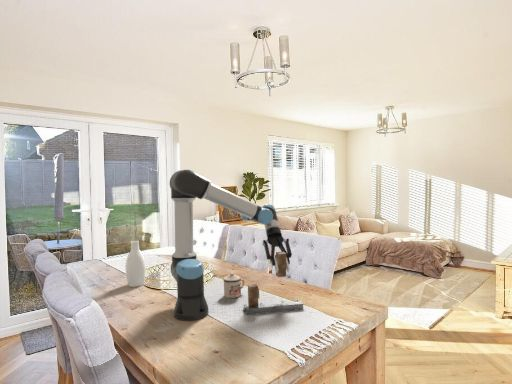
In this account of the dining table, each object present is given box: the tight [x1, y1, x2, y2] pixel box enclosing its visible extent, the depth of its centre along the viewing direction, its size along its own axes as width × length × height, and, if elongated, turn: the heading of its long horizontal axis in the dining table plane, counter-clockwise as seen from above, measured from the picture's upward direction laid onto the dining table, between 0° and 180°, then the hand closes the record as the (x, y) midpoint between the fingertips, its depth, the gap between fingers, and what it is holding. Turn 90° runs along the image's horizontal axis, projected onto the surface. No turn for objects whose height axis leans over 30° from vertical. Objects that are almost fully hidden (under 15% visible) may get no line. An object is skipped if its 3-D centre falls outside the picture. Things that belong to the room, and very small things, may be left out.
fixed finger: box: [247, 283, 260, 306], centre depth 153 cm, size 5×4×11 cm
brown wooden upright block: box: [274, 251, 287, 278], centre depth 160 cm, size 5×4×11 cm
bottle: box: [125, 240, 147, 288], centre depth 195 cm, size 11×11×25 cm
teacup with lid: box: [222, 272, 245, 299], centre depth 173 cm, size 12×9×12 cm
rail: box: [243, 298, 304, 315], centre depth 153 cm, size 27×7×2 cm, turn 100°
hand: (282, 270), depth 157 cm, fingers closed on brown wooden upright block, 5 cm apart
